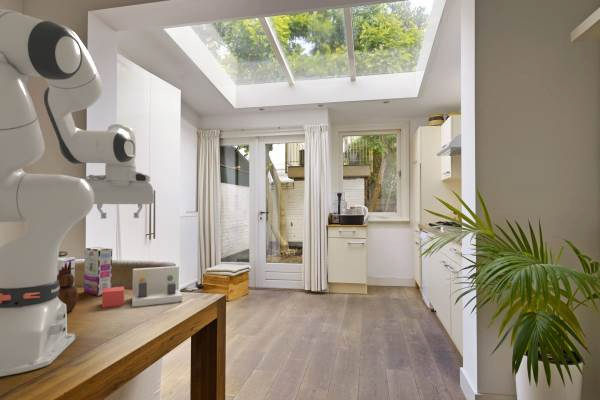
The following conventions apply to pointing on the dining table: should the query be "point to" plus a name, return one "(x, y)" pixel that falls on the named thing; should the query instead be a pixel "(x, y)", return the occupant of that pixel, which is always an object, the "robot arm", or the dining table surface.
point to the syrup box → (66, 260)
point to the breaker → (142, 289)
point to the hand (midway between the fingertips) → (120, 218)
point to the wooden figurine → (67, 288)
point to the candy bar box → (97, 270)
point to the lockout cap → (113, 297)
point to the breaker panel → (156, 298)
